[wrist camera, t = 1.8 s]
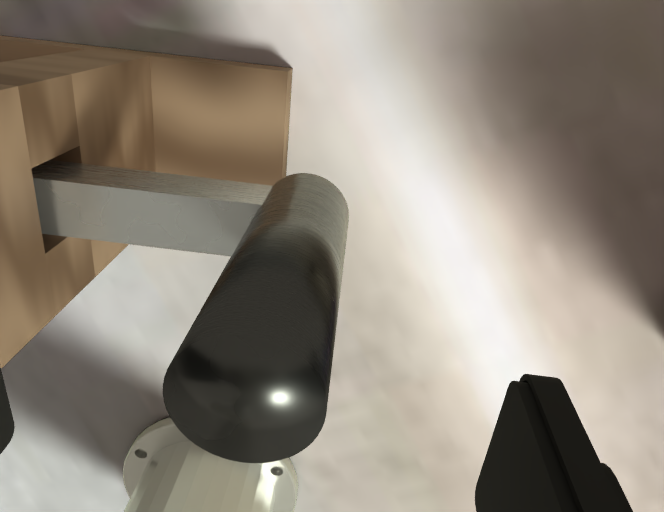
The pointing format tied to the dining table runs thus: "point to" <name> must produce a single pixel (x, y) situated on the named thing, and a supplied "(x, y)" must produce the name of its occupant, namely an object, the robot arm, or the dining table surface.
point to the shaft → (228, 292)
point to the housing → (116, 149)
